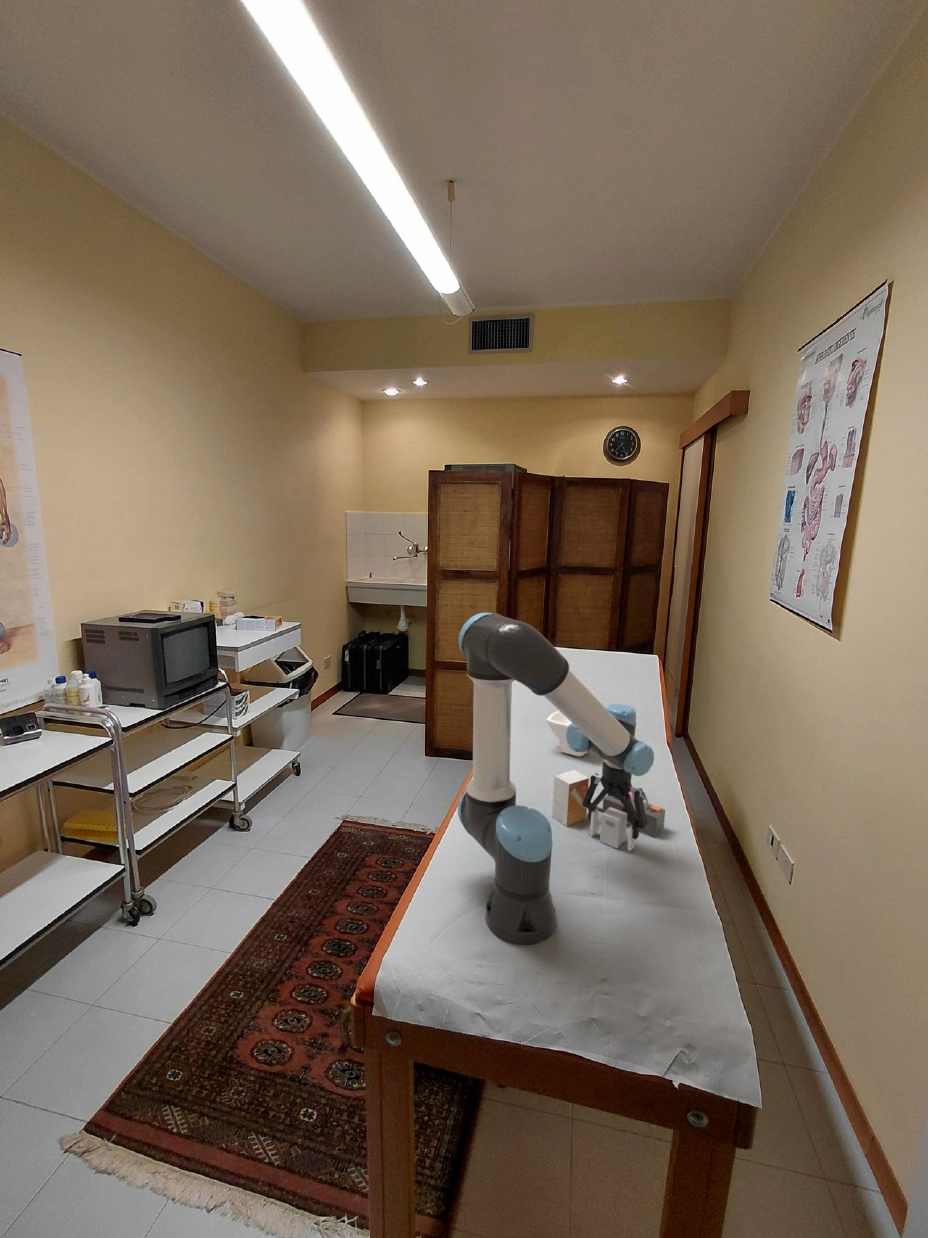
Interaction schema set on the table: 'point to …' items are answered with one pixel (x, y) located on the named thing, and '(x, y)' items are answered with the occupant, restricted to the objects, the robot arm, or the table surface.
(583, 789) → the small box
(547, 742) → the table surface
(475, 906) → the table surface
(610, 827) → the block
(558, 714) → the bowl
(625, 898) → the table surface
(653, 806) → the power strip
